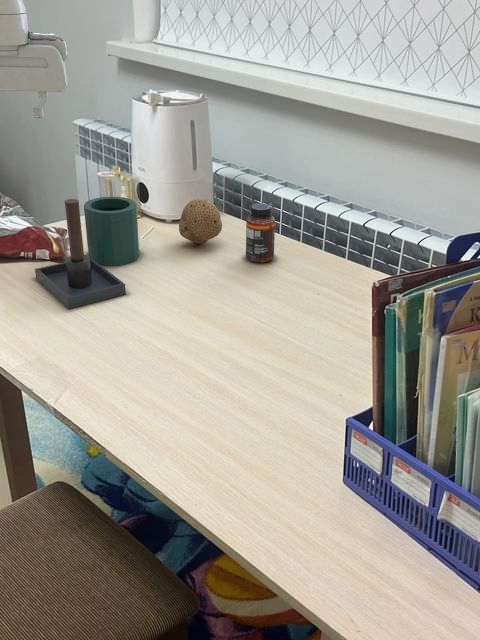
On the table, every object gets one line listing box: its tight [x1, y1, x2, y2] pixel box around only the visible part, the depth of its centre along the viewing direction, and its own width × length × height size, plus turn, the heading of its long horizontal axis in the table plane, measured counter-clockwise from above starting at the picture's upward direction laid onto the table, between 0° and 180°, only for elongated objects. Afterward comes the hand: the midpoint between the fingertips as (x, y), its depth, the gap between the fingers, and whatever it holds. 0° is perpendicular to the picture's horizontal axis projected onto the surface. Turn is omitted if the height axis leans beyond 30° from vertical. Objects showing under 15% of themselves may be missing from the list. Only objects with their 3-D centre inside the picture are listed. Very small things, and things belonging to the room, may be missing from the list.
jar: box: [83, 196, 140, 267], centre depth 141 cm, size 10×10×11 cm
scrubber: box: [64, 198, 92, 289], centre depth 126 cm, size 4×4×16 cm
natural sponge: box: [178, 198, 223, 245], centre depth 148 cm, size 9×9×10 cm
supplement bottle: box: [245, 202, 276, 264], centre depth 142 cm, size 6×6×11 cm
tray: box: [34, 258, 127, 310], centre depth 130 cm, size 15×11×2 cm
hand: (11, 116), depth 122 cm, fingers open, 8 cm apart
